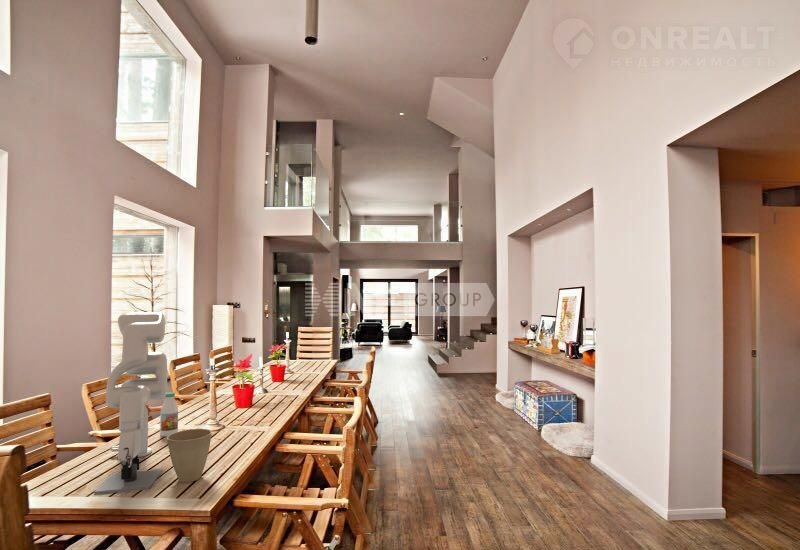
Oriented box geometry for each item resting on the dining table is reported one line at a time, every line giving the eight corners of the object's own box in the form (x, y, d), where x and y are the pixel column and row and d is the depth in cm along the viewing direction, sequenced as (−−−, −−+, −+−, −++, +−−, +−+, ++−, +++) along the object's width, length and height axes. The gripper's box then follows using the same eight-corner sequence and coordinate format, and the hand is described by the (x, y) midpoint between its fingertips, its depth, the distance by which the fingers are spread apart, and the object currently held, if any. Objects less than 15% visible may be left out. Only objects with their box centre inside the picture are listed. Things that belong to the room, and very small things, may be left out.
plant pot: (190, 469, 180) (190, 427, 180) (220, 474, 174) (220, 430, 175) (156, 483, 166) (157, 437, 167) (188, 489, 160) (188, 442, 161)
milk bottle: (156, 436, 224) (156, 393, 225) (169, 431, 231) (170, 390, 232) (168, 437, 221) (168, 395, 222) (181, 433, 228) (181, 391, 229)
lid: (94, 496, 157) (94, 476, 157) (112, 477, 173) (112, 459, 174) (149, 490, 161) (150, 471, 161) (162, 473, 177) (162, 455, 178)
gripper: (127, 419, 176) (126, 467, 175) (110, 432, 159) (109, 485, 158) (149, 418, 177) (148, 465, 177) (135, 430, 161) (134, 482, 160)
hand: (130, 474), depth 167 cm, fingers open, 7 cm apart
